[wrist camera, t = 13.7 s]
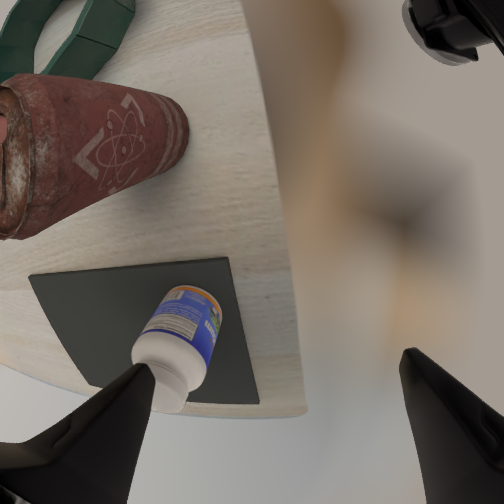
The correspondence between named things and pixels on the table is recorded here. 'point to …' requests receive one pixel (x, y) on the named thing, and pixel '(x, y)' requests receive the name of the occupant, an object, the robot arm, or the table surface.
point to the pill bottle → (179, 345)
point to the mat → (144, 321)
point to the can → (78, 146)
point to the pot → (76, 45)
